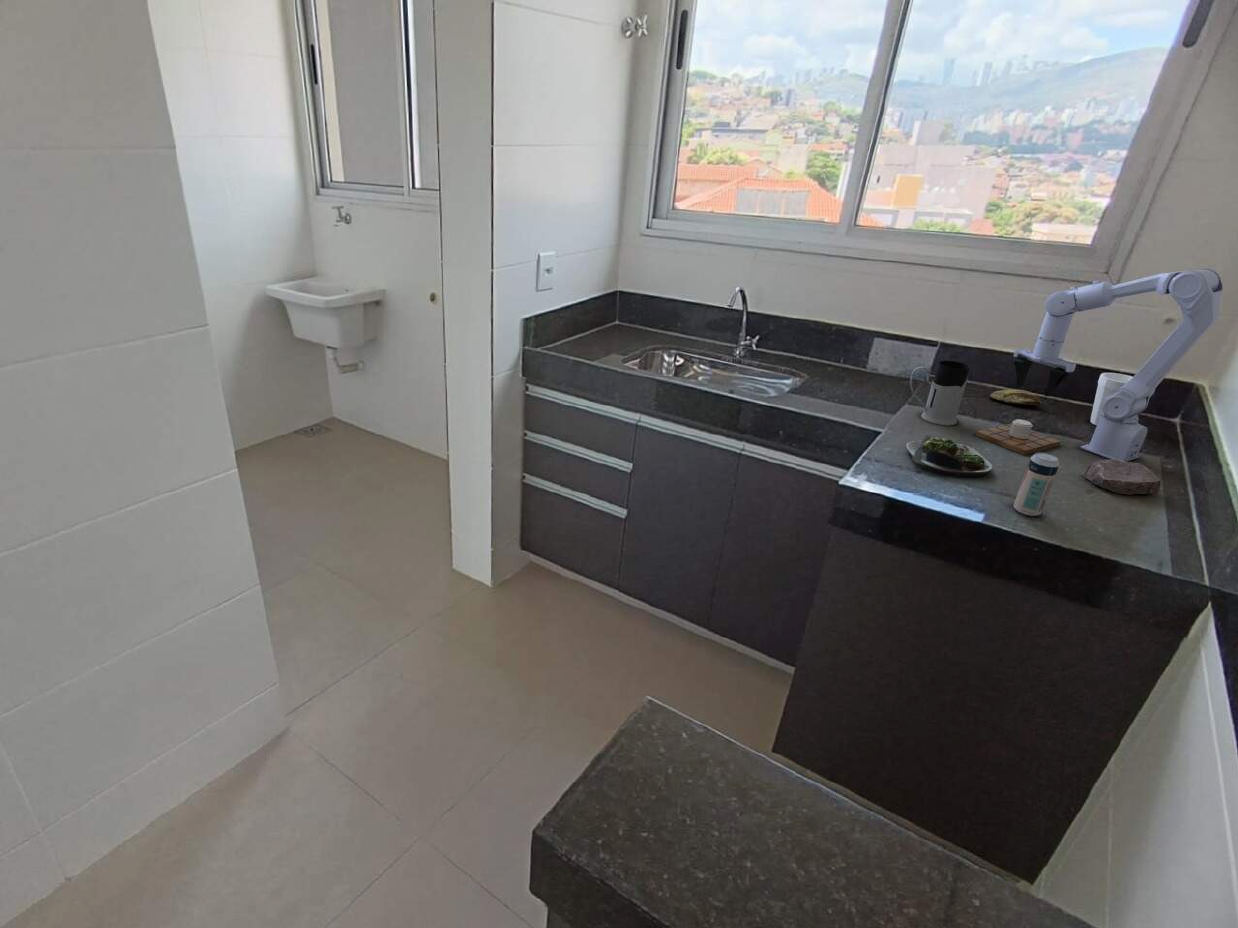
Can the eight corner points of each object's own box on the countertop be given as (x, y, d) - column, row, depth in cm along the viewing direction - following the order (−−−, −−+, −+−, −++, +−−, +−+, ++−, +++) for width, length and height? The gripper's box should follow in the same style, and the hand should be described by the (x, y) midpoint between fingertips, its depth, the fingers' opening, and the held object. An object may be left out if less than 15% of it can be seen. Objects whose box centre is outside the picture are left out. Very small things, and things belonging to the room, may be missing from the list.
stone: (1079, 474, 147) (1087, 455, 145) (1135, 480, 146) (1144, 462, 144) (1099, 492, 139) (1108, 473, 137) (1159, 500, 138) (1169, 480, 136)
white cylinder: (1030, 436, 164) (1035, 422, 162) (1025, 440, 161) (1030, 426, 159) (1011, 430, 166) (1016, 417, 165) (1006, 434, 163) (1010, 421, 162)
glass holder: (961, 426, 171) (978, 371, 164) (905, 421, 172) (919, 366, 166) (950, 414, 179) (965, 361, 172) (896, 409, 180) (910, 356, 173)
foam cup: (1132, 428, 176) (1151, 382, 171) (1111, 432, 173) (1130, 385, 167) (1096, 415, 184) (1113, 371, 178) (1076, 419, 180) (1093, 374, 175)
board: (1058, 445, 163) (1060, 440, 162) (1024, 455, 156) (1025, 450, 155) (1010, 427, 172) (1012, 422, 172) (975, 435, 166) (977, 430, 165)
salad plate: (889, 439, 160) (893, 422, 158) (963, 444, 160) (969, 427, 158) (916, 474, 143) (921, 455, 141) (1000, 481, 142) (1006, 461, 140)
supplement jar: (1030, 505, 132) (1050, 451, 127) (1045, 517, 128) (1066, 462, 123) (1007, 505, 132) (1026, 451, 127) (1021, 517, 128) (1042, 461, 123)
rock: (1046, 405, 190) (1049, 393, 189) (1035, 408, 183) (1038, 395, 182) (997, 397, 199) (1000, 386, 198) (985, 400, 192) (988, 387, 191)
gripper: (1013, 333, 169) (997, 383, 175) (1071, 348, 157) (1052, 401, 163) (1030, 331, 172) (1013, 381, 178) (1087, 346, 161) (1068, 398, 166)
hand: (1033, 390), depth 171 cm, fingers open, 7 cm apart
